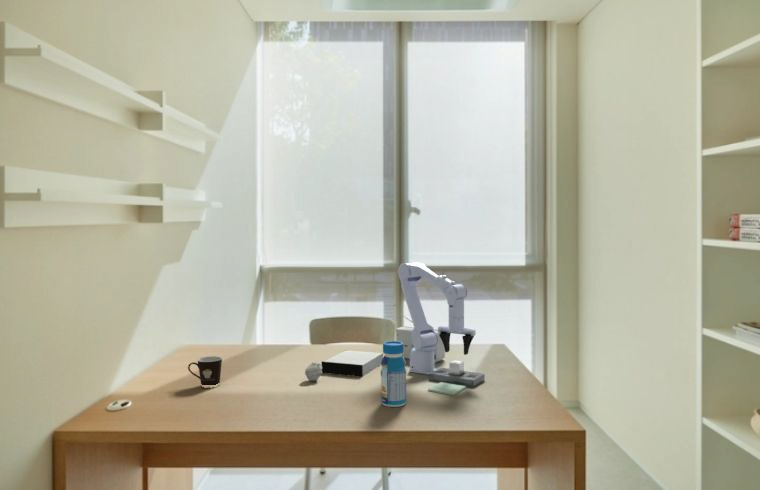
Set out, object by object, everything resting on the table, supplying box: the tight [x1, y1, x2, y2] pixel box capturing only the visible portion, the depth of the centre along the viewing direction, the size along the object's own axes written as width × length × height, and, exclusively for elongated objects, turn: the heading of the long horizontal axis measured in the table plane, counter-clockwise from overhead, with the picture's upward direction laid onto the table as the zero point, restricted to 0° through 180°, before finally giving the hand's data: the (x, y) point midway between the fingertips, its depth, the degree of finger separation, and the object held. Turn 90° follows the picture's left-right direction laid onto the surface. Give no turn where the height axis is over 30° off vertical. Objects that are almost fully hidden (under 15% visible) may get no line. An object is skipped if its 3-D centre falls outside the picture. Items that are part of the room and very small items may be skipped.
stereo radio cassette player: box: [395, 312, 446, 364], centre depth 242 cm, size 21×8×20 cm, turn 58°
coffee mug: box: [187, 355, 223, 385], centre depth 206 cm, size 12×9×10 cm
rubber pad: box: [427, 382, 467, 396], centre depth 198 cm, size 10×10×1 cm
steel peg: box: [448, 359, 465, 376], centre depth 209 cm, size 4×4×7 cm
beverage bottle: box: [380, 340, 407, 408], centre depth 183 cm, size 8×8×20 cm
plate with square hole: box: [428, 367, 485, 388], centre depth 209 cm, size 18×10×3 cm, turn 57°
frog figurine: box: [304, 361, 322, 382], centre depth 211 cm, size 6×7×7 cm
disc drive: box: [321, 350, 384, 378], centre depth 229 cm, size 18×22×5 cm
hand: (456, 352), depth 209 cm, fingers open, 7 cm apart
